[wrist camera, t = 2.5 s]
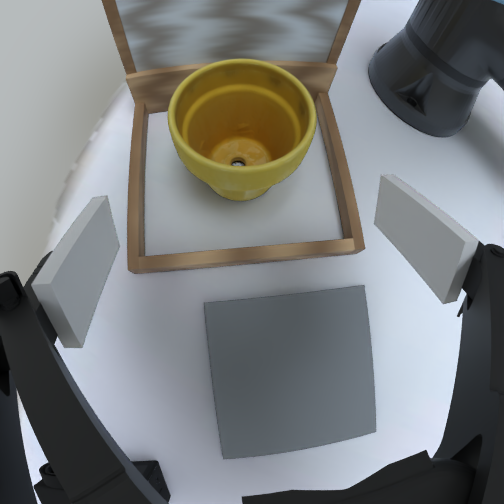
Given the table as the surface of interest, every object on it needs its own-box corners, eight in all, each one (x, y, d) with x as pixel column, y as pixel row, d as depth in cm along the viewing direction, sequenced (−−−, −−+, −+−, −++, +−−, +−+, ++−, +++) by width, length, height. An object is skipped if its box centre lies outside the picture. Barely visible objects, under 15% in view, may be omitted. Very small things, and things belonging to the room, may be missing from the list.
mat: (361, 285, 27) (364, 285, 27) (373, 430, 24) (376, 431, 24) (204, 303, 26) (204, 302, 26) (223, 456, 23) (223, 459, 23)
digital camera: (155, 448, 23) (134, 482, 16) (172, 495, 22) (158, 535, 15) (61, 450, 22) (26, 474, 15) (79, 494, 21) (51, 524, 14)
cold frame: (319, 93, 32) (368, -37, 14) (356, 253, 28) (493, 166, 10) (140, 104, 30) (97, -32, 13) (134, 273, 26) (6, 196, 9)
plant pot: (163, 191, 28) (136, 134, 19) (217, 112, 30) (215, 43, 21) (264, 241, 28) (281, 199, 18) (309, 152, 30) (337, 89, 21)
